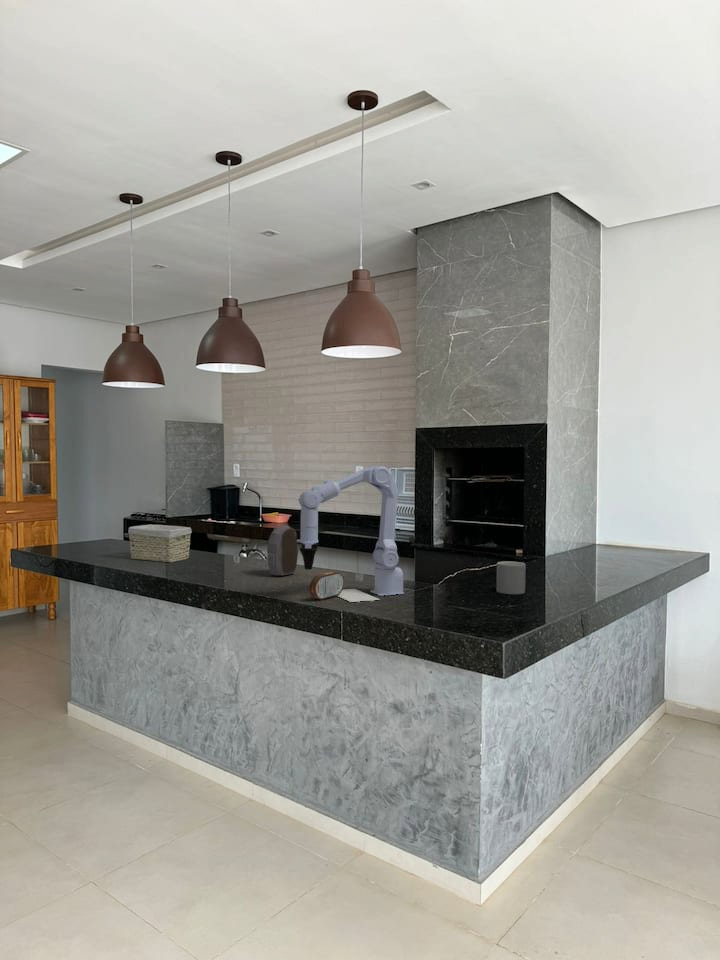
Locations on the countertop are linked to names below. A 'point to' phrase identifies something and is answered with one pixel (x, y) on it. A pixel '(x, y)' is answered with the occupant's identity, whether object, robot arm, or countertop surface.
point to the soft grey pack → (282, 551)
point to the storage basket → (159, 542)
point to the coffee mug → (510, 577)
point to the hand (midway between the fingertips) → (308, 567)
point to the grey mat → (355, 596)
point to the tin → (326, 585)
